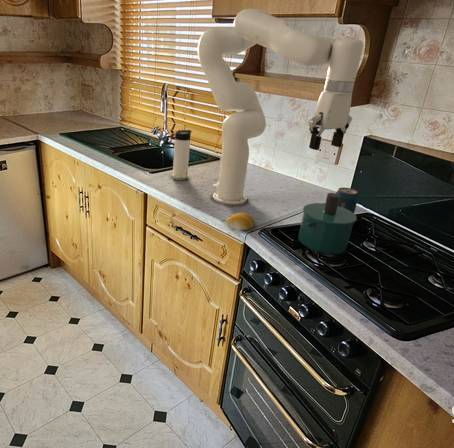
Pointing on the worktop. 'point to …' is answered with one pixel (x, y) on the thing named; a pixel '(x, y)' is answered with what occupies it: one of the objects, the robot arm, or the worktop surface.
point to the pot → (324, 236)
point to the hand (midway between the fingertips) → (325, 147)
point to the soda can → (347, 198)
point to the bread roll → (240, 221)
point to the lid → (330, 211)
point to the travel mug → (181, 154)
